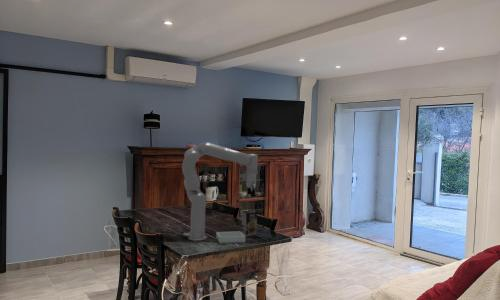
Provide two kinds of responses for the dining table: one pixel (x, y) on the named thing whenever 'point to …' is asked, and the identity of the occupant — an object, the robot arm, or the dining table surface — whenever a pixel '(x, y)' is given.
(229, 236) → the tray
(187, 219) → the dining table surface
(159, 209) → the dining table surface
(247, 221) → the coffee box
